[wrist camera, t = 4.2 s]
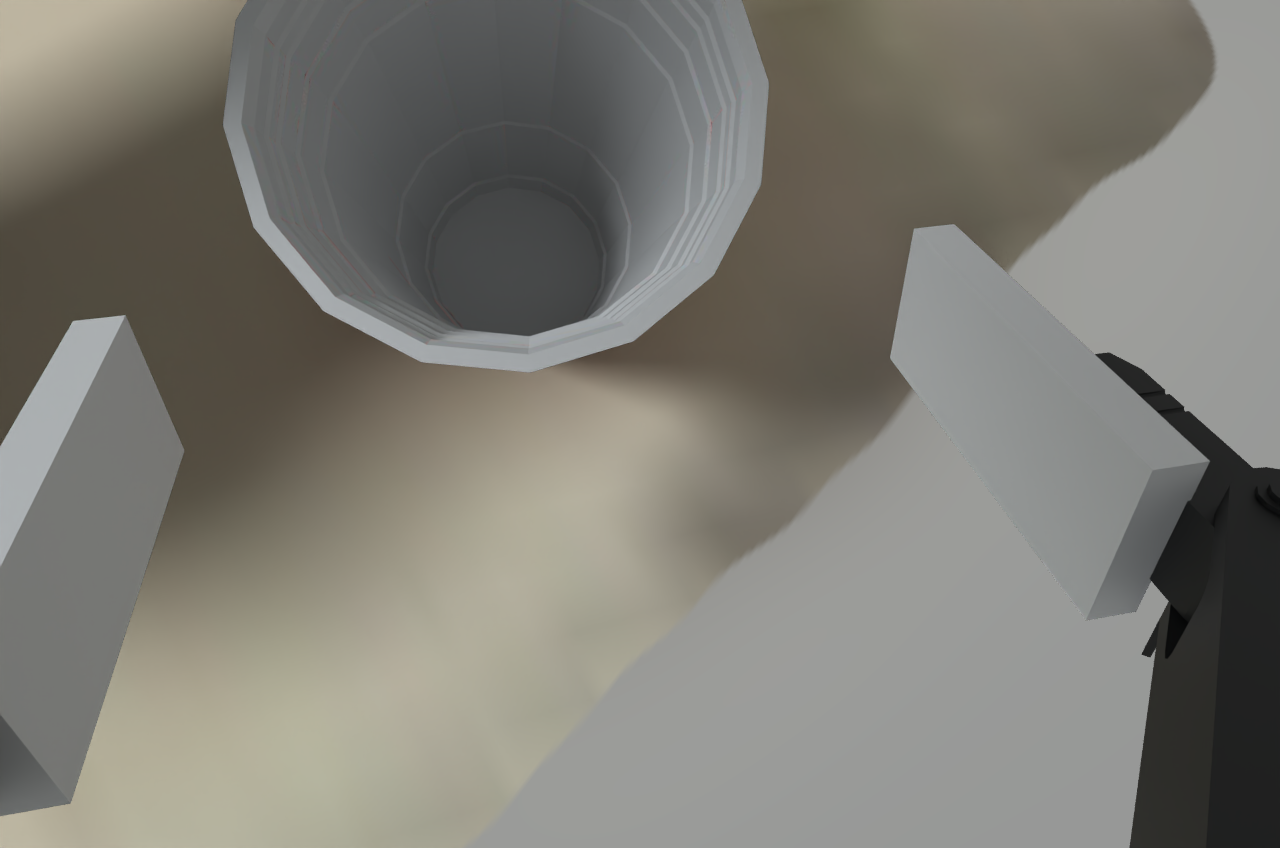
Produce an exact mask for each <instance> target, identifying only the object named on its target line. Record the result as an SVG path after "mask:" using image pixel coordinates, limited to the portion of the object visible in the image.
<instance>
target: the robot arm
mask: <svg viewBox="0 0 1280 848" xmlns="http://www.w3.org/2000/svg"><path fill="white" fill-rule="evenodd" d="M890 359H891V360H892V362H893V363H894V364H895V366H896V367H897V368H898V370H899V371H900V372H901V374H902V375H903V376H904V378H905V379H906V380H907V382H908V383H909V384H910V386H911V387H912V388H913V390H914V391H915V392H916V394H917V395H918V396H919V398H920V399H921V400H922V402H923V403H924V405H925V406H926V407H927V409H928V410H929V411H930V413H931V414H932V415H933V417H934V418H935V419H936V421H937V422H938V423H939V425H940V426H941V427H942V429H943V430H944V431H945V432H946V434H947V435H948V437H950V439H951V441H952V442H953V443H954V445H955V446H956V447H957V449H958V450H959V451H960V453H961V454H962V455H963V457H964V458H965V459H966V461H967V462H968V463H969V465H970V466H971V467H972V469H973V470H974V471H975V473H976V474H977V475H978V477H979V478H980V479H981V481H982V482H983V483H984V485H985V486H986V487H987V489H988V490H989V492H990V493H991V494H992V495H993V497H994V498H995V500H996V501H997V502H998V504H999V505H1000V506H1001V508H1002V509H1003V510H1004V512H1005V513H1006V514H1007V516H1008V517H1009V518H1010V520H1011V521H1012V522H1013V524H1014V525H1015V526H1016V528H1017V529H1018V530H1019V532H1020V533H1021V534H1022V536H1023V537H1024V538H1025V540H1026V541H1027V542H1028V544H1029V545H1030V546H1031V548H1032V549H1033V550H1034V552H1035V553H1036V554H1037V556H1038V557H1039V558H1040V560H1041V561H1042V562H1043V564H1044V565H1045V566H1046V568H1047V569H1048V570H1049V572H1050V573H1051V574H1052V576H1053V577H1054V578H1055V580H1056V581H1057V582H1058V584H1059V585H1060V587H1061V588H1062V589H1063V591H1064V592H1065V593H1066V594H1067V596H1068V597H1069V599H1070V600H1071V601H1072V603H1073V604H1074V605H1075V606H1076V608H1077V609H1078V610H1079V612H1080V613H1081V615H1082V616H1083V617H1084V619H1085V620H1091V619H1098V618H1103V617H1109V616H1114V615H1119V614H1125V613H1130V612H1136V610H1137V609H1138V607H1139V604H1140V602H1141V600H1142V598H1143V596H1144V594H1145V592H1146V590H1147V588H1148V586H1149V584H1150V582H1151V581H1152V582H1153V583H1154V585H1155V586H1156V587H1157V588H1158V589H1159V590H1160V592H1161V593H1162V594H1163V595H1164V596H1165V597H1166V599H1168V601H1169V602H1168V604H1167V606H1166V608H1165V610H1164V612H1163V614H1162V616H1161V618H1160V619H1159V621H1158V623H1157V625H1156V627H1155V629H1154V631H1153V633H1152V635H1151V637H1150V639H1149V641H1148V643H1147V645H1146V646H1145V649H1144V651H1143V652H1142V655H1145V656H1147V657H1151V655H1152V653H1153V652H1154V650H1155V648H1156V652H1155V660H1154V667H1153V675H1152V682H1151V690H1150V697H1149V705H1148V712H1147V720H1146V728H1145V736H1144V743H1143V750H1142V758H1141V766H1140V773H1139V780H1138V788H1137V796H1136V803H1135V812H1134V818H1133V826H1132V834H1131V842H1130V848H1280V469H1274V468H1267V467H1265V468H1252V467H1251V466H1250V465H1249V464H1248V463H1247V462H1246V461H1244V460H1243V459H1242V458H1241V457H1240V456H1239V455H1237V453H1235V452H1234V451H1233V450H1232V449H1231V448H1230V447H1229V446H1227V445H1226V444H1225V443H1224V442H1223V441H1222V440H1221V439H1220V438H1219V437H1217V436H1216V435H1215V434H1214V433H1213V432H1212V431H1211V430H1210V429H1208V428H1207V427H1206V426H1205V425H1204V424H1203V423H1202V422H1201V421H1199V420H1198V419H1197V418H1196V417H1195V416H1194V415H1193V414H1192V413H1190V412H1189V411H1187V412H1185V411H1184V406H1182V405H1181V404H1180V403H1179V402H1178V401H1177V400H1176V399H1175V398H1174V397H1172V396H1171V395H1170V394H1167V395H1166V394H1165V389H1163V388H1162V387H1161V386H1160V385H1159V384H1157V382H1156V381H1154V380H1153V379H1152V378H1151V377H1150V376H1149V375H1148V374H1146V373H1145V372H1144V371H1143V370H1142V369H1140V368H1138V367H1136V366H1134V365H1132V364H1130V363H1129V362H1127V361H1125V360H1123V359H1121V358H1119V357H1117V356H1115V355H1113V354H1111V353H1102V354H1094V353H1093V352H1092V351H1090V350H1089V349H1088V348H1087V347H1086V346H1085V345H1084V344H1083V343H1082V342H1081V341H1080V340H1079V339H1078V338H1077V337H1075V336H1074V335H1073V334H1072V333H1071V332H1070V331H1069V330H1068V329H1067V328H1066V327H1065V326H1064V325H1062V324H1061V323H1060V322H1059V321H1058V320H1057V319H1056V318H1055V317H1054V316H1053V315H1052V314H1051V313H1050V312H1049V311H1047V310H1046V309H1045V308H1044V307H1043V306H1042V305H1041V304H1040V303H1039V302H1038V301H1037V300H1036V299H1035V298H1033V297H1032V296H1031V295H1030V294H1029V293H1028V292H1027V291H1026V290H1025V289H1024V288H1023V287H1022V286H1020V285H1019V284H1018V283H1017V282H1016V281H1015V280H1014V279H1013V278H1012V277H1011V276H1010V275H1009V274H1008V273H1006V272H1005V271H1004V270H1003V269H1002V268H1001V267H1000V266H999V265H998V264H997V263H996V262H995V261H994V260H992V259H991V258H990V257H989V256H988V255H987V254H986V253H985V252H984V251H983V250H982V249H981V248H980V247H978V246H977V245H976V244H975V243H974V242H973V241H972V240H971V239H970V238H969V237H968V236H967V235H966V234H964V233H963V232H962V231H961V230H960V229H959V228H958V227H957V226H956V225H955V224H951V225H942V226H933V227H923V228H914V231H913V236H912V242H911V247H910V252H909V258H908V263H907V269H906V274H905V279H904V285H903V290H902V296H901V301H900V307H899V312H898V317H897V323H896V328H895V334H894V339H893V345H892V350H891V355H890ZM183 454H184V448H183V446H182V444H181V441H180V439H179V437H178V435H177V432H176V430H175V428H174V425H173V423H172V421H171V418H170V416H169V414H168V412H167V409H166V407H165V405H164V402H163V400H162V398H161V395H160V393H159V391H158V389H157V386H156V384H155V382H154V379H153V377H152V375H151V372H150V370H149V368H148V366H147V363H146V361H145V359H144V356H143V354H142V352H141V349H140V347H139V345H138V343H137V340H136V338H135V336H134V333H133V331H132V329H131V326H130V324H129V322H128V320H127V317H126V315H122V316H113V317H104V318H95V319H86V320H77V321H73V322H72V324H71V325H70V327H69V329H68V331H67V332H66V334H65V336H64V338H63V339H62V341H61V343H60V344H59V346H58V348H57V350H56V351H55V353H54V355H53V356H52V358H51V360H50V362H49V363H48V365H47V367H46V369H45V370H44V372H43V374H42V375H41V377H40V379H39V381H38V382H37V384H36V386H35V387H34V389H33V391H32V393H31V394H30V396H29V398H28V400H27V401H26V403H25V405H24V406H23V408H22V410H21V412H20V413H19V415H18V417H17V418H16V420H15V422H14V424H13V425H12V427H11V429H10V430H9V432H8V434H7V436H6V437H5V439H4V441H3V443H2V444H1V446H0V816H4V815H9V814H15V813H20V812H26V811H31V810H37V809H42V808H48V807H53V806H59V805H65V804H70V803H71V801H72V797H73V794H74V791H75V788H76V785H77V782H78V779H79V776H80V773H81V770H82V766H83V763H84V760H85V757H86V754H87V751H88V748H89V745H90V742H91V739H92V735H93V732H94V729H95V726H96V723H97V720H98V717H99V714H100V711H101V708H102V705H103V701H104V698H105V695H106V692H107V689H108V686H109V683H110V680H111V677H112V674H113V670H114V667H115V664H116V661H117V658H118V655H119V652H120V649H121V646H122V643H123V640H124V636H125V633H126V630H127V627H128V624H129V621H130V618H131V615H132V612H133V609H134V605H135V602H136V599H137V596H138V593H139V590H140V587H141V584H142V581H143V578H144V574H145V571H146V568H147V565H148V562H149V559H150V556H151V553H152V550H153V547H154V544H155V540H156V537H157V534H158V531H159V528H160V525H161V522H162V519H163V516H164V513H165V509H166V506H167V503H168V500H169V497H170V494H171V491H172V488H173V485H174V482H175V479H176V475H177V472H178V469H179V466H180V463H181V460H182V457H183Z"/></svg>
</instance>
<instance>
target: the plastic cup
mask: <svg viewBox="0 0 1280 848" xmlns="http://www.w3.org/2000/svg"><path fill="white" fill-rule="evenodd" d="M768 91H769V81H768V78H767V75H766V72H765V69H764V66H763V63H762V60H761V57H760V54H759V51H758V48H757V45H756V42H755V39H754V36H753V33H752V30H751V27H750V23H749V20H748V17H747V14H746V11H745V8H744V5H743V2H742V0H248V1H247V2H246V4H245V6H244V7H243V9H242V11H241V12H240V14H239V16H238V17H237V19H236V22H235V30H234V38H233V46H232V54H231V62H230V71H229V79H228V87H227V95H226V103H225V111H224V119H223V127H224V130H225V134H226V137H227V140H228V144H229V147H230V151H231V154H232V157H233V161H234V164H235V167H236V171H237V174H238V177H239V181H240V184H241V187H242V191H243V194H244V197H245V201H246V204H247V207H248V211H249V214H250V217H251V221H252V224H253V227H254V229H255V230H256V231H257V232H258V233H259V235H260V236H261V237H262V238H263V239H264V241H265V242H266V243H267V244H268V245H269V246H270V248H271V249H272V250H273V251H274V252H275V254H276V255H277V256H278V257H279V258H280V260H281V261H282V262H283V263H284V264H285V266H286V267H287V268H288V269H289V270H290V272H291V273H292V274H293V275H294V276H295V278H296V279H297V280H298V281H299V282H300V284H301V285H302V286H303V287H304V288H305V290H306V291H307V292H308V293H309V294H310V296H311V297H312V298H313V299H314V300H315V302H316V303H317V304H318V305H319V306H320V308H321V309H322V310H323V311H324V312H326V313H328V314H330V315H332V316H334V317H336V318H338V319H339V320H341V321H343V322H345V323H347V324H349V325H351V326H353V327H355V328H357V329H359V330H361V331H362V332H364V333H366V334H368V335H370V336H372V337H374V338H376V339H378V340H380V341H382V342H384V343H385V344H387V345H389V346H391V347H393V348H395V349H397V350H399V351H401V352H403V353H405V354H407V355H408V356H410V357H412V358H414V359H416V360H418V361H420V362H424V363H435V364H446V365H456V366H467V367H477V368H488V369H499V370H509V371H520V372H534V371H537V370H540V369H544V368H547V367H550V366H554V365H557V364H560V363H563V362H567V361H570V360H573V359H577V358H580V357H583V356H587V355H590V354H593V353H597V352H600V351H603V350H606V349H610V348H613V347H616V346H620V345H623V344H626V343H630V342H633V341H634V340H636V339H637V338H638V337H639V336H640V335H642V334H643V333H644V332H645V331H646V330H648V329H649V328H650V327H651V326H653V325H654V324H655V323H656V322H657V321H659V320H660V319H661V318H662V317H663V316H665V315H666V314H667V313H668V312H670V311H671V310H672V309H673V308H674V307H676V306H677V305H678V304H679V303H680V302H682V301H683V300H684V299H685V298H687V297H688V296H689V295H690V294H691V293H693V292H694V291H695V290H696V289H697V288H699V287H700V286H701V285H702V284H704V283H705V282H706V281H707V280H708V279H710V278H711V277H712V276H713V275H714V274H715V272H716V270H717V268H718V266H719V264H720V262H721V260H722V259H723V257H724V255H725V253H726V251H727V249H728V247H729V245H730V243H731V241H732V239H733V237H734V235H735V234H736V232H737V230H738V228H739V226H740V224H741V222H742V220H743V218H744V216H745V214H746V212H747V211H748V209H749V207H750V205H751V203H752V201H753V199H754V197H755V195H756V193H757V191H758V189H759V187H760V186H761V180H762V168H763V155H764V142H765V129H766V116H767V104H768Z"/></svg>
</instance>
